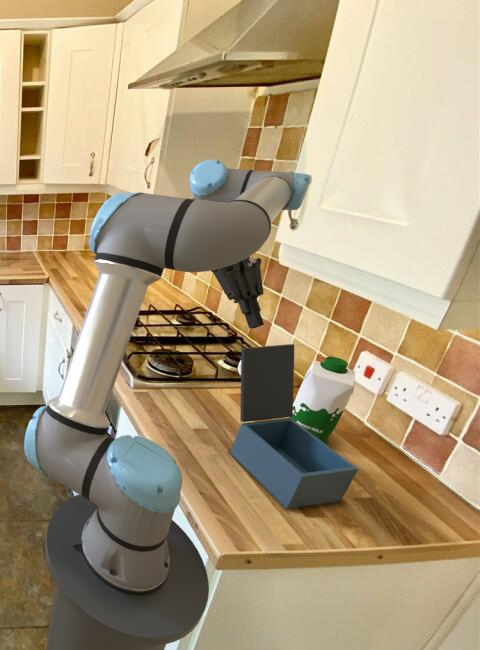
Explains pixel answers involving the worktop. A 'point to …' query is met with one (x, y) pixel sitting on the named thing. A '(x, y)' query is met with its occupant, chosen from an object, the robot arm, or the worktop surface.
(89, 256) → the worktop surface
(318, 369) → the milk carton
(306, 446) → the storage box
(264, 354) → the lid
